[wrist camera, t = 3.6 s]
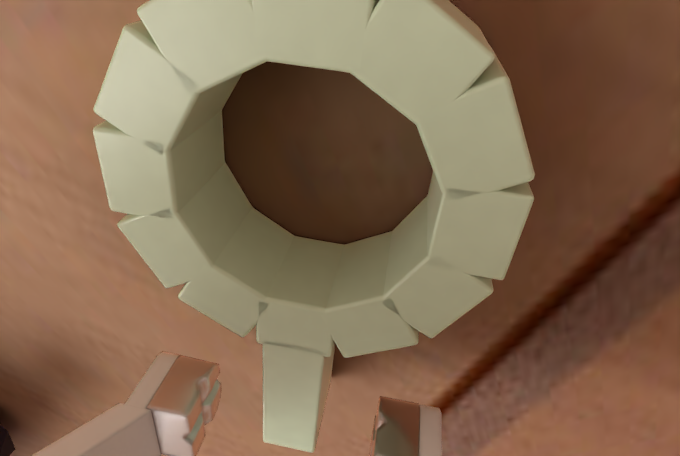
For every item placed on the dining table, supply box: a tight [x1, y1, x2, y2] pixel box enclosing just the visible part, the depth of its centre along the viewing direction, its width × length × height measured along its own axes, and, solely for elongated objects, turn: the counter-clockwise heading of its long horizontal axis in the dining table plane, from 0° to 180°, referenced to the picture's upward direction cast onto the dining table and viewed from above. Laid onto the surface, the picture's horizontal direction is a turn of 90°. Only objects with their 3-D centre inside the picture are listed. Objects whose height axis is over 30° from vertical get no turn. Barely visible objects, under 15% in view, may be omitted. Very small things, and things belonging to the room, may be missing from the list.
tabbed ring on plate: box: [93, 0, 535, 453], centre depth 10 cm, size 7×11×2 cm
